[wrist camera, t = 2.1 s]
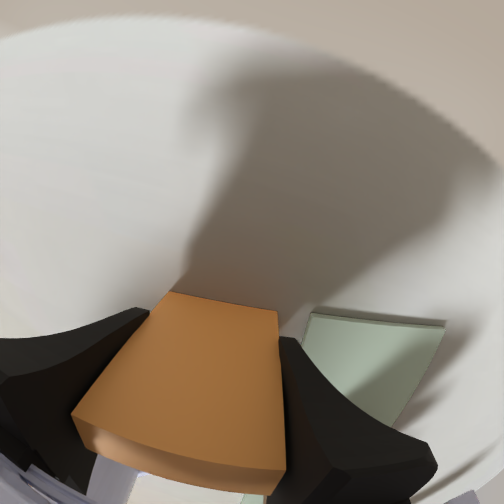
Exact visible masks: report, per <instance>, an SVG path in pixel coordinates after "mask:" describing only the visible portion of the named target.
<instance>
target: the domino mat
mask: <svg viewBox="0 0 504 504" xmlns="http://www.w3.org/2000/svg"><path fill="white" fill-rule="evenodd" d="M445 331H446V329H445V328H444V327H443V326H429V325H416V324H404V323H393V322H383V321H373V320H364V319H355V318H347V317H339V316H331V315H324V314H316V313H310V317H309V320H308V324H307V327H306V331H305V334H304V337H303V341H302V344H301V347H302V348H303V350H304V351H305V352H306V354H307V355H308V356H309V358H310V359H311V360H312V362H313V363H314V364H315V365H316V367H317V368H318V369H319V370H320V372H321V373H322V374H323V375H324V376H325V377H326V378H327V379H328V380H329V381H330V383H331V384H332V385H333V386H334V387H335V388H336V389H337V390H338V391H339V392H341V393H342V394H343V395H344V396H345V397H346V398H347V399H349V400H350V401H351V402H352V403H353V404H355V405H356V406H357V407H359V408H360V409H361V410H363V411H364V412H366V413H367V414H369V415H370V416H372V417H373V418H375V419H376V420H378V421H380V422H381V423H383V424H385V425H387V426H389V427H391V426H392V425H393V424H394V422H395V421H396V419H397V418H398V416H399V415H400V413H401V412H402V410H403V409H404V407H405V406H406V404H407V403H408V401H409V399H410V398H411V396H412V394H413V393H414V391H415V389H416V388H417V386H418V384H419V383H420V381H421V379H422V377H423V375H424V374H425V372H426V370H427V368H428V366H429V364H430V362H431V360H432V358H433V356H434V354H435V352H436V350H437V348H438V346H439V344H440V342H441V340H442V338H443V335H444V333H445ZM240 504H263V495H254V494H245V495H244V497H243V499H242V501H241V503H240Z"/></svg>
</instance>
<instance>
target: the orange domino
mask: <svg viewBox="0 0 504 504" xmlns="http://www.w3.org/2000/svg"><path fill="white" fill-rule="evenodd" d="M278 340H279V329H278V315H277V311H272V310H266V309H260V308H254V307H248V306H242V305H236V304H231V303H226V302H220V301H215V300H210V299H205V298H200V297H195V296H190V295H185V294H180V293H176V292H171V291H169V292H168V293H167V294H166V295H165V296H164V297H163V299H162V300H161V301H160V302H159V303H158V304H157V306H156V307H155V308H154V309H153V310H152V312H151V313H150V315H149V316H148V318H147V319H146V320H145V321H144V322H143V324H142V325H141V326H140V327H139V328H138V329H137V330H136V331H135V332H134V333H133V335H132V336H131V337H130V338H129V340H128V341H127V342H126V343H125V344H124V346H123V347H122V348H121V349H120V351H119V352H118V353H117V354H116V356H115V357H114V358H113V359H112V361H111V362H110V363H109V364H108V366H107V367H106V368H105V370H104V371H103V372H102V373H101V375H100V376H99V377H98V379H97V380H96V381H95V382H94V384H93V385H92V386H91V388H90V389H89V390H88V392H87V393H86V394H85V396H84V397H83V398H82V399H81V401H80V402H79V403H78V405H77V406H76V407H75V409H74V410H73V412H72V413H71V416H72V419H73V421H74V423H75V426H76V428H77V430H78V432H79V435H80V437H81V439H82V441H83V443H84V445H85V447H86V448H87V449H89V450H91V451H93V452H95V453H97V454H100V455H102V456H104V457H106V458H109V459H111V460H114V461H116V462H119V463H121V464H124V465H126V466H129V467H132V468H135V469H137V470H140V471H143V472H146V473H149V474H153V475H156V476H159V477H163V478H166V479H170V480H174V481H177V482H181V483H186V484H190V485H195V486H199V487H204V488H210V489H215V490H221V491H228V492H236V493H244V494H254V495H268V496H270V495H271V494H272V492H273V491H274V489H275V488H276V486H277V485H278V483H279V481H280V480H281V478H282V477H283V475H284V473H285V472H286V450H285V428H284V409H283V391H282V374H281V362H280V357H279V344H278Z"/></svg>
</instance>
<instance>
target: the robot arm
mask: <svg viewBox="0 0 504 504" xmlns="http://www.w3.org/2000/svg"><path fill="white" fill-rule="evenodd" d="M149 315H150V311H149V310H145V309H141V308H138V307H134V308H131V309H128V310H125V311H123V312H120V313H118V314H115V315H113V316H110V317H108V318H105V319H103V320H100V321H97V322H95V323H92V324H89V325H86V326H83V327H80V328H77V329H74V330H70V331H66V332H62V333H58V334H53V335H47V336H40V337H31V338H0V504H127V501H128V498H129V496H130V493H131V491H132V488H133V486H134V483H135V481H136V478H137V477H141V476H144V475H148V474H149V473H146V472H143V471H140V470H137V469H135V468H132V467H129V466H126V465H124V464H121V463H119V462H116V461H114V460H111V459H109V458H106V457H104V456H102V455H100V454H97V453H95V452H93V451H91V450H89V449H87V448H86V447H85V445H84V443H83V441H82V439H81V437H80V435H79V432H78V430H77V428H76V426H75V423H74V421H73V419H72V416H71V413H72V412H73V410H74V409H75V407H76V406H77V405H78V403H79V402H80V401H81V399H82V398H83V397H84V396H85V394H86V393H87V392H88V390H89V389H90V388H91V386H92V385H93V384H94V382H95V381H96V380H97V379H98V377H99V376H100V375H101V373H102V372H103V371H104V370H105V368H106V367H107V366H108V364H109V363H110V362H111V361H112V359H113V358H114V357H115V356H116V354H117V353H118V352H119V351H120V349H121V348H122V347H123V346H124V344H125V343H126V342H127V341H128V340H129V338H130V337H131V336H132V335H133V333H134V332H135V331H136V330H137V329H138V328H139V327H140V326H141V325H142V324H143V322H144V321H145V320H146V319H147V318H148V316H149ZM278 344H279V357H280V362H281V374H282V391H283V409H284V428H285V450H286V472H285V473H284V475H283V477H282V478H281V480H280V481H279V483H278V485H277V486H276V488H275V489H274V491H273V492H272V494H271V495H270V496H268V495H267V499H266V504H411V502H410V499H409V498H410V497H411V496H412V495H414V494H415V493H416V492H417V491H418V490H420V489H421V488H422V487H423V486H424V485H425V484H427V483H428V482H429V481H430V480H431V479H432V477H433V476H434V474H435V473H436V471H437V469H438V464H437V462H436V460H435V458H434V456H433V454H432V451H431V449H430V447H429V445H428V443H426V442H424V441H421V440H418V439H416V438H413V437H411V436H408V435H406V434H403V433H401V432H399V431H397V430H395V429H393V428H391V427H389V426H387V425H385V424H383V423H381V422H380V421H378V420H376V419H375V418H373V417H372V416H370V415H369V414H367V413H366V412H364V411H363V410H361V409H360V408H359V407H357V406H356V405H355V404H353V403H352V402H351V401H350V400H349V399H347V398H346V397H345V396H344V395H343V394H342V393H341V392H339V391H338V390H337V389H336V388H335V387H334V386H333V385H332V384H331V383H330V381H329V380H328V379H327V378H326V377H325V376H324V375H323V374H322V373H321V372H320V370H319V369H318V368H317V367H316V365H315V364H314V363H313V362H312V360H311V359H310V358H309V356H308V355H307V354H306V352H305V351H304V350H303V348H302V347H301V345H300V344H299V343H298V341H297V340H296V339H295V338H289V337H282V336H279V340H278ZM28 484H29V485H31V486H32V488H31V487H30V486H29V485H28ZM444 504H480V503H479V500H478V498H477V496H476V494H475V492H474V490H470V491H468V492H466V493H464V494H462V495H460V496H458V497H455V498H453V499H451V500H449V501H448V502H446V503H444Z"/></svg>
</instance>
